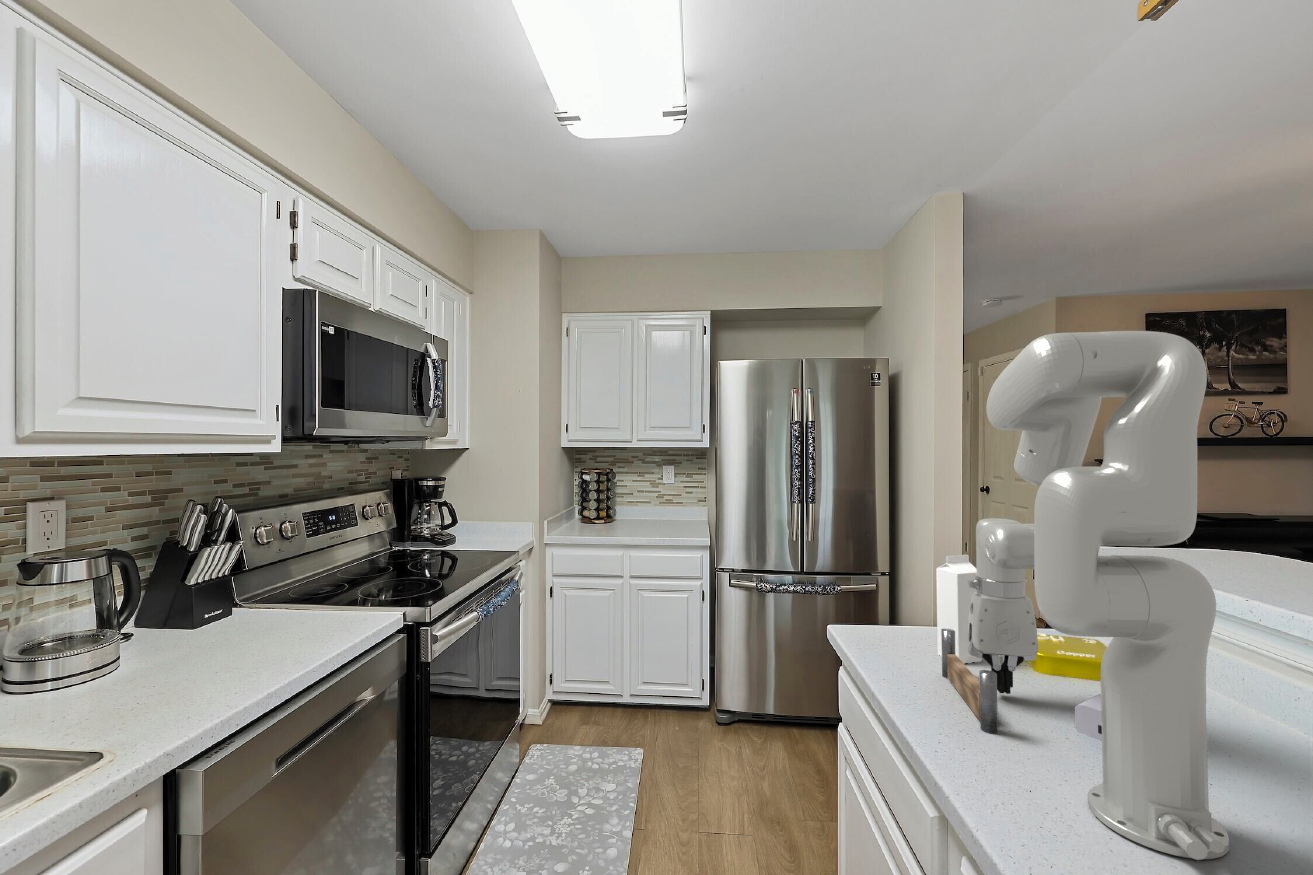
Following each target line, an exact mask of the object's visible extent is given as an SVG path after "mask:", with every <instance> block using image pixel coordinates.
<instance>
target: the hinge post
mask: <svg viewBox="0 0 1313 875" xmlns="http://www.w3.org/2000/svg"><path fill="white" fill-rule="evenodd" d="M979 682H980V720H979V721H980V725H979V727H980V730H981V731H983V732H985V733H987V734H998V732H999V722H998V721H999V717H998V716H999V714H998V713H999V712H998V690H997V674H996V673H995V672H993V671H991V670H989V669H988V670H987V669H981V670H979Z"/></svg>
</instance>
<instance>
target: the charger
mask: <svg viewBox="0 0 1313 875" xmlns="http://www.w3.org/2000/svg"><path fill="white" fill-rule="evenodd" d="M1074 724H1075V725H1074V728H1075V729H1076V731H1077V732H1078V733H1080V734H1082V735H1085V736H1088V737H1090V738H1093V739H1095V740H1099V741H1101V742H1102V718H1101V693H1099V694H1096V695H1095V696H1093V697H1090V698H1089V699H1087V700H1085V701H1083V702H1081V703H1079V704H1077V705H1076V706H1074Z"/></svg>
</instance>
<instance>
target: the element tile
mask: <svg viewBox="0 0 1313 875" xmlns="http://www.w3.org/2000/svg"><path fill="white" fill-rule="evenodd" d="M1037 637H1038V652H1037V654H1036V659H1035V660H1031V661H1026V662H1027V663H1029V664H1028V665H1029V667H1030V666H1031V667H1030V668H1031V669H1032V671H1033V672H1036V673H1038V674H1041V675H1046V676H1047V675H1048V676H1054V677H1055V676H1056V677H1063V678H1069V679H1070V678H1072V679H1080V680H1089V681H1096V682H1101V663H1102V659H1103V656H1104V653H1105V651H1106V649H1107V647H1108V645H1107V646H1106V644H1104V643H1103V642H1102V641H1100V640H1098V639H1095V638H1094V639H1093V638H1087V637H1077V636H1074V637H1073V636H1063V635H1053V634H1046V633H1041V632H1037Z"/></svg>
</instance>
